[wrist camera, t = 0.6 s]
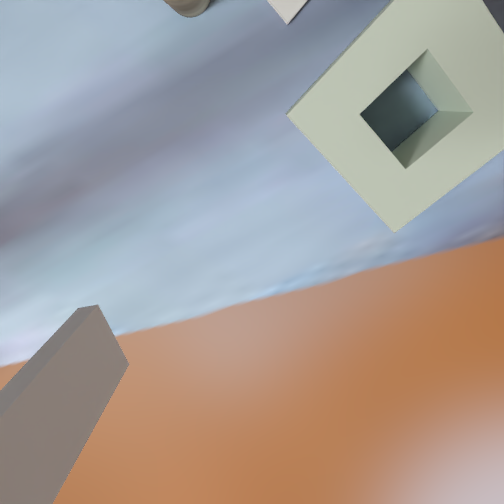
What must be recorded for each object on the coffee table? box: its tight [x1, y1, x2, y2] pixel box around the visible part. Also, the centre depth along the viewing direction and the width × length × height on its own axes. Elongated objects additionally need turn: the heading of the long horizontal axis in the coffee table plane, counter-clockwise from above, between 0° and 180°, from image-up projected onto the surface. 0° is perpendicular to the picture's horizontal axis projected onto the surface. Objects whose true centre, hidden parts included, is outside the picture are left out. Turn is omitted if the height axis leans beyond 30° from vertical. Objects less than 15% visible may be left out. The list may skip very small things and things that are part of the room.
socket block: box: [285, 0, 504, 233], centre depth 27 cm, size 14×14×6 cm
